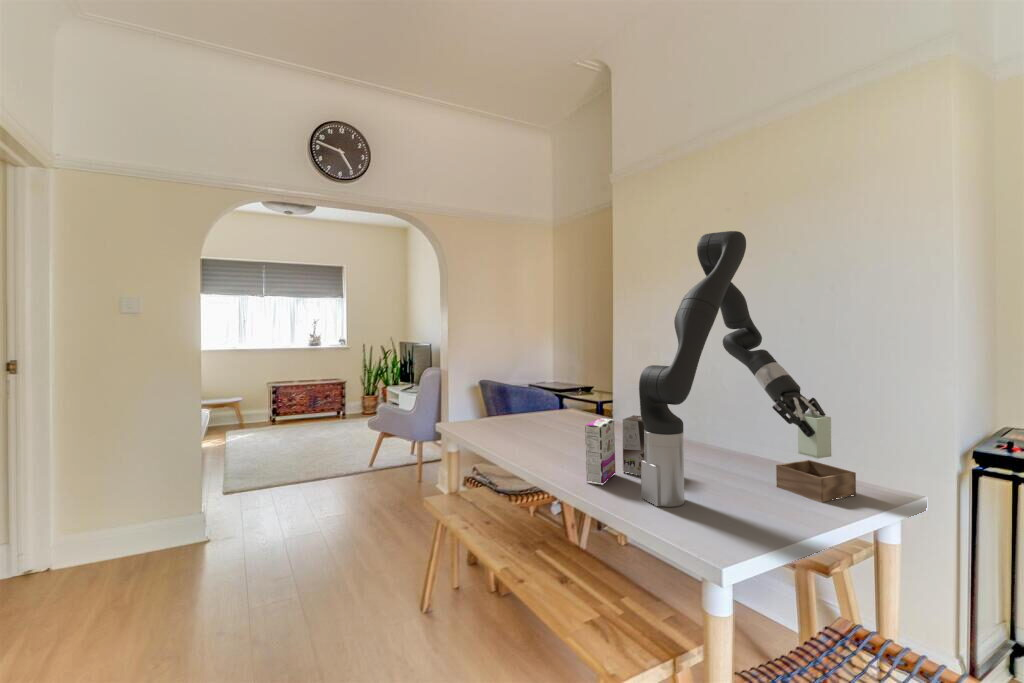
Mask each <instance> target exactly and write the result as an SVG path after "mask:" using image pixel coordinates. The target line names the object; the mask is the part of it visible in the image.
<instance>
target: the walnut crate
mask: <svg viewBox="0 0 1024 683" xmlns="http://www.w3.org/2000/svg"><path fill="white" fill-rule="evenodd" d="M775 476H776V488H778V489H782V490H785V491H787V490H788V492H790V491H791V492H790V493H792V494H793V493H794V494H797V495H799V496H801V495H802V497H803V498H807V499H811V500H813V501H816V502H818V501H820V502H819V503H821V502H822V503H825V502H824V501H827V502H829V501H828V500H832V499H836V498H841V497H847V496H851V495H856V494H857V477H856V476H857V473H856V472H854V471H851V470H847V469H844V468H841V467H836V466H832V465H829V464H825V463H822V462H817V461H813V460H810V459H806V460H800V461H794V462H787V463H780V464H776V474H775ZM856 496H857V495H856ZM847 498H848V497H847ZM832 501H833V500H832Z"/></svg>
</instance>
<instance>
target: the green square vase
mask: <svg viewBox="0 0 1024 683" xmlns="http://www.w3.org/2000/svg"><path fill="white" fill-rule="evenodd" d="M803 418H804V421H806V422H807V423H808V424H809V425H810V427H811V428H812V429H813V430H814V431H815V434H814V435H813V436H811V437H807V436H806V435H805V434H804V433H803V432H802V430H801V429H800V428H799V427H798V426H797V442H798V443H797V447H798V455H802V456H806V457H809V458H813V459H816V460H817V459H824V458H830V457H832V417H831V416H827V415H825V416H821V415H815V414H812V413H811V414H806V415H803Z"/></svg>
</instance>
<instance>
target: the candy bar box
mask: <svg viewBox="0 0 1024 683" xmlns="http://www.w3.org/2000/svg"><path fill="white" fill-rule="evenodd" d="M584 428H585V431H584V432H585V455H586V456H585V460H586V461H585V462H586V463H585V464H586V482H587V481H592V482H597V483H604V482H605V481H606V480H607V479H609V478H610V477H611V476H612V475H613V474H614V473H616V450H615V449H616V446H615V442H616V441H615V440H616V439H615V438H616V437H615V419H613V418H605V417H604V418H603V417H602V418H600V417H599V418H597V419H595V420H593V421H591V422H589V423H587V424H585V425H584ZM609 480H610V479H609Z"/></svg>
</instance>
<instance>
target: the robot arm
mask: <svg viewBox="0 0 1024 683" xmlns="http://www.w3.org/2000/svg"><path fill="white" fill-rule="evenodd" d="M746 250H747V239H746V236H745V235H744V233H743V232H741V231H738V230H737V231H736V230H728V231H727V230H726V231H720V232H719V231H718V232H711V233H710V232H709V233H706V234H705V233H704V234H703V235H702V236H701V237H700V238H699V239H698V242H697V246H696V254H697V260H698V261H699V264H700V266H701V268H702V270H703V273H704V274H705V277H704V278H703V279H701V280H700V281H699V282H698V283H697V284H695V285H694V286H693V287H692V288H691V289H689V291H688V292H687V293H685V295H684V296H683V298H682V300H681V302H680V304H679V306H678V309H677V311H676V313H675V316H674V329H675V333H676V338H677V344H678V346H677V351H676V353H675V356H674V359H673V361H672V363H671V364H670V365H669V366H668V365H654V364H652V365H648V366H646V367H645V368H643V370H642V372H641V374H640V376H639V382H638V395H639V406H640V408H639V410H640V416H641V418H642V421H643V423H644V460H642V461H641V476H640V477H641V478H640V479H641V480H640V482H641V485H640V486H641V488H640V489H641V493H640V494H641V499H642V498H643V499H642V500H644V499H645V500H644V501H646V500H647V501H646V502H648V503H649V502H650V503H649V504H651V503H652V504H651V505H653V504H654V505H653V506H655V507H657V506H658V507H666V508H668V507H679V506H682V505H684V503H685V452H684V451H685V447H684V445H685V444H684V443H685V441H684V440H685V439H684V437H685V436H684V435H685V434H684V433H685V432H684V421H683V420H682V418H680V417H679V416H677V415H676V414H675V413H673V411H672V410H670V407H669V405H671V406H674V405H675V406H676V405H677V406H678V405H679V406H680V405H681V404H683V403H684V402H685V401H686V399H687V398H688V396H689V395H690V392H691V390H692V387H693V384H694V381H695V376H696V373H697V369H698V366H699V363H700V362H699V361H700V359H701V356H702V353H703V350H704V347H705V344H706V343H707V339H708V337H709V334H710V332H711V330H712V328H713V326H714V323H715V321H716V319H717V316H718V314H719V311H720V313H721V316H722V320H723V323H724V325H725V327H726V328H727V329H730V330H734V331H731V332H729V333H727V334H726V335H725V336H723V339H722V346H723V348H724V349H725V351H726V352H727V353H728V355H730V356H732V357H733V358H735V359H736V360H737V361H739V362H740V363H742V364H743V365H744V366H745V367H746V368H748V370H749V371H750V372H751V374H752V375H753V376H754V378H756V380H757V382H758V384H759V385H760V387H761V388H762V389H763V390H764V391H765V393H766V394H767V395H768V396H769V398H770V399H771V400H772V401H773V403H775V404H773V405H772V409H773V410H774V411H775V412H776V413H777V414H778V415H779V416H780V417H781V418H782V419H783V420H784V421H785V422H786V423H787V424H789V425H792V424H794V426H796V427H797V428H798V427H799V428H800V429H801V430H802V432H803V433H804V434H805V435H806V436H807V437H811V436H813V435H814V434H815V431H814V430H813V429H812V428H811V427H810V425H809V424H808V423H807V422H806V421H804V418H803V415H806V414H815V415H821V416H827V415H826V412H825V411H824V410H823V408H822V407H821V405H820V404H819V402H818V400H817V399H816V398H815V397H811V398H806V397H805V396H804V395H802V393H801V390H802V389H801V386H800V385H799V384H798V382H796V380H795V379H794V377H792V376H791V375H790V373H789V372H788V371H787V370H786V369H785V368H784V367H783V366H781V364H780V363H779V362H778V361H777V360H776V359H775V358H774V356H773V355H772V354H771V353H770V352H769V351H768V350H766V349H757V348H758V347H759V346H760V345H761V343H762V340H763V336H762V334H761V332H760V330H759V329H758V328H757V326H756V325H755V323H754V321H753V319H752V318H751V315H750V311H749V307H748V303H747V302H748V301H747V300H746V297H745V295H744V294H743V293H742V291H741V290H740V289H739V287H738V286H736V285H735V284H734V283H733V282H732V280H733V279H734V277H735V275H736V273H737V272H738V270H739V267H740V266H741V263H742V262H743V259H744V257H745V253H746ZM754 349H755V350H754ZM808 410H809V411H808ZM787 415H788V416H787Z"/></svg>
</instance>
